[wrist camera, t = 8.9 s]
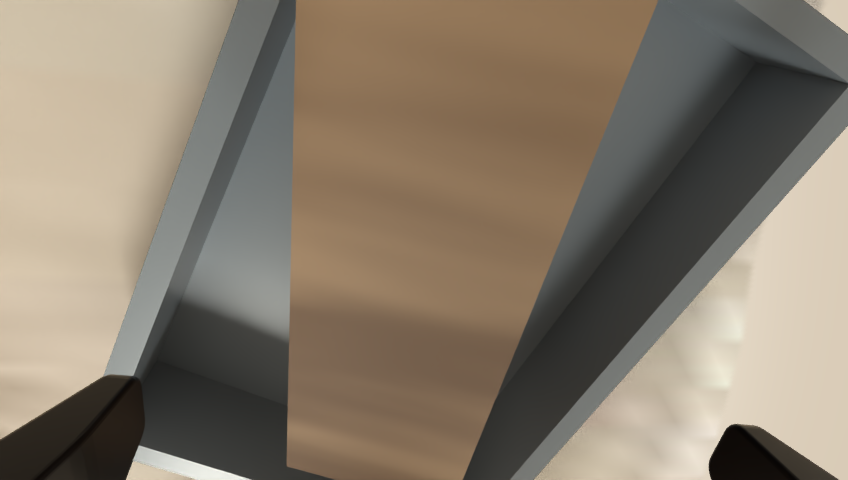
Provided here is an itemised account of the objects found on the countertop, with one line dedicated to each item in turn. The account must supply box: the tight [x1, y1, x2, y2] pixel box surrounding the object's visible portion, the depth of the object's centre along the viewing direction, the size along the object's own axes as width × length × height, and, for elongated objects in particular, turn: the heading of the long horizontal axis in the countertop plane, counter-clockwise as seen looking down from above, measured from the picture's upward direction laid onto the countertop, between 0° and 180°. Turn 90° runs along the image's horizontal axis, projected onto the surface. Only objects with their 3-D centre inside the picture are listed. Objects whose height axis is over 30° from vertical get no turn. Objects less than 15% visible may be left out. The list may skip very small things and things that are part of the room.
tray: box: [104, 0, 848, 480], centre depth 13 cm, size 16×11×4 cm
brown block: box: [287, 0, 658, 480], centre depth 10 cm, size 4×4×12 cm
